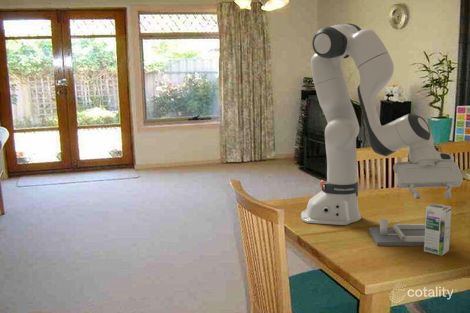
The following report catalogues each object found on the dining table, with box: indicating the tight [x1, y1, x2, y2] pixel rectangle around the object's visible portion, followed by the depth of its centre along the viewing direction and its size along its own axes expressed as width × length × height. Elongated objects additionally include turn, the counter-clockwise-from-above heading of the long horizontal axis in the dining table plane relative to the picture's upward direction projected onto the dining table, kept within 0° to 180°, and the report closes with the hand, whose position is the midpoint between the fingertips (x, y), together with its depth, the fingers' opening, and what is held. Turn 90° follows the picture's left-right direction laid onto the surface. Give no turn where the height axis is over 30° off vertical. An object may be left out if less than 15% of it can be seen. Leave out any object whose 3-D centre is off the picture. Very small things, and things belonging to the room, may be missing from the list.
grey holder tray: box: [368, 218, 425, 247], centre depth 155 cm, size 21×14×6 cm, turn 85°
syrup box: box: [423, 203, 452, 257], centre depth 143 cm, size 6×6×14 cm
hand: (432, 197), depth 148 cm, fingers open, 8 cm apart
